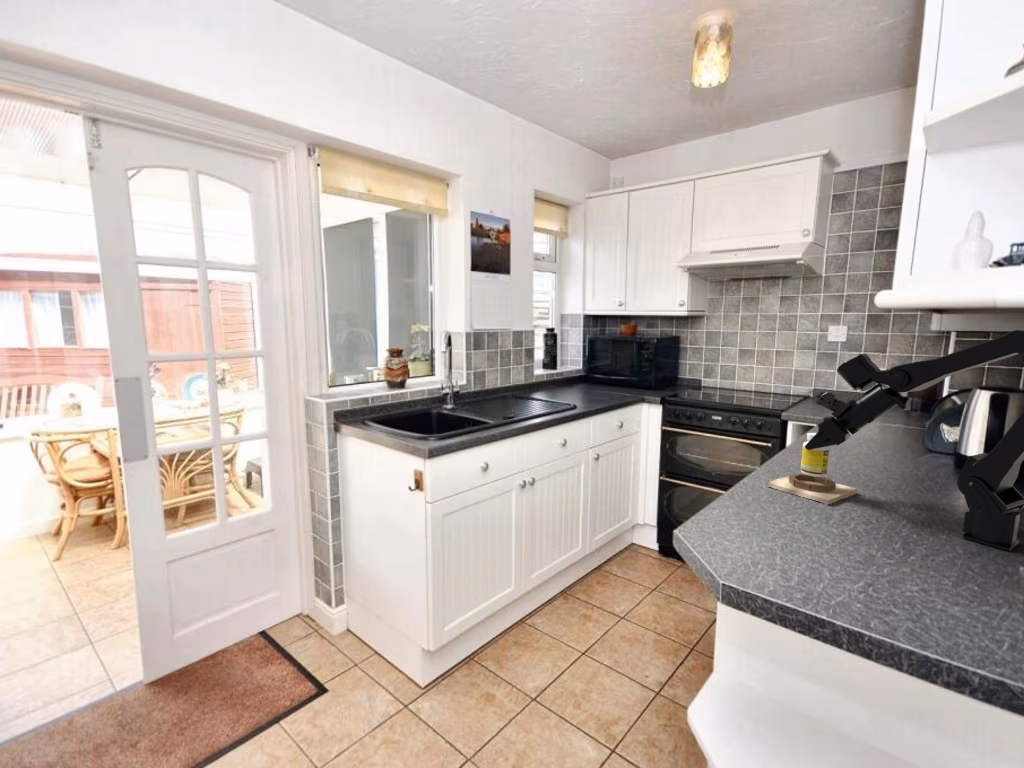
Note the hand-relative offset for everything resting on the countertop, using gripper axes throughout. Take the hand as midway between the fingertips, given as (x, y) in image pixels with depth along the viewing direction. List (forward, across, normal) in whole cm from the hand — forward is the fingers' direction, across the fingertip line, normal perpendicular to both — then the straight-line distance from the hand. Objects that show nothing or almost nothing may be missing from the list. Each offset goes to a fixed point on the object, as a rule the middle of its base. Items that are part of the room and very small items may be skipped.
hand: (809, 446), depth 118 cm
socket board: (+7, 0, +8) cm, 11 cm away
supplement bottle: (+4, 0, +6) cm, 7 cm away
